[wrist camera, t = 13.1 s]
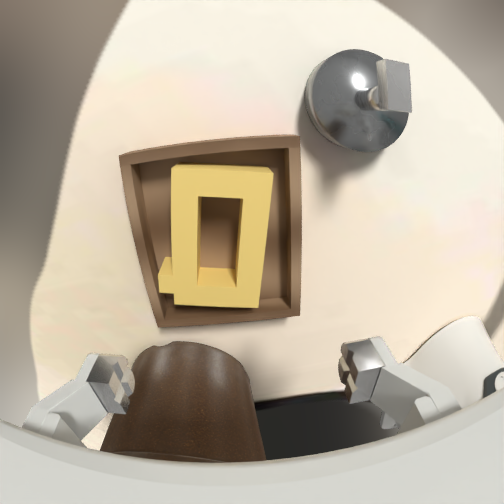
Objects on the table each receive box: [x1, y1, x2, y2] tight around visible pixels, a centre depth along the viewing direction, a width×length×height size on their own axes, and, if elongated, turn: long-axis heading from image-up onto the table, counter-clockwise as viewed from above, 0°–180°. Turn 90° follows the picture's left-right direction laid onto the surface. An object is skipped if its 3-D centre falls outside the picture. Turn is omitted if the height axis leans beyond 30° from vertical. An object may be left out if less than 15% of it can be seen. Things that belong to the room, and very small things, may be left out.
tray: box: [119, 135, 302, 327], centre depth 20 cm, size 13×11×2 cm
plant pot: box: [100, 341, 267, 463], centre depth 20 cm, size 16×16×16 cm
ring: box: [158, 162, 274, 308], centre depth 19 cm, size 7×9×3 cm
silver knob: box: [305, 49, 412, 152], centre depth 14 cm, size 7×7×6 cm
